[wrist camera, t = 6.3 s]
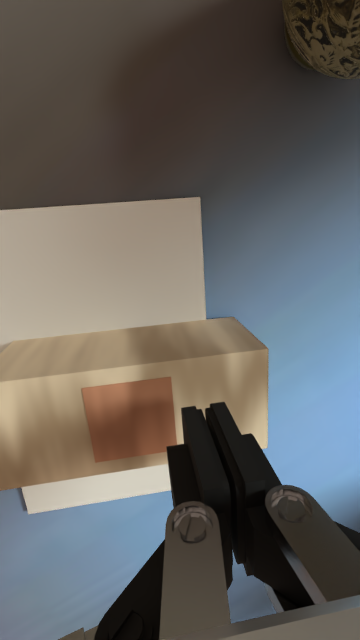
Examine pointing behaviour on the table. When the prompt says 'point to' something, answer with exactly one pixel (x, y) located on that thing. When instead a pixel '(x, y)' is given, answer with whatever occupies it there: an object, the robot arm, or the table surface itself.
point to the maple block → (122, 396)
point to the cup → (324, 35)
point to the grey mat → (99, 297)
